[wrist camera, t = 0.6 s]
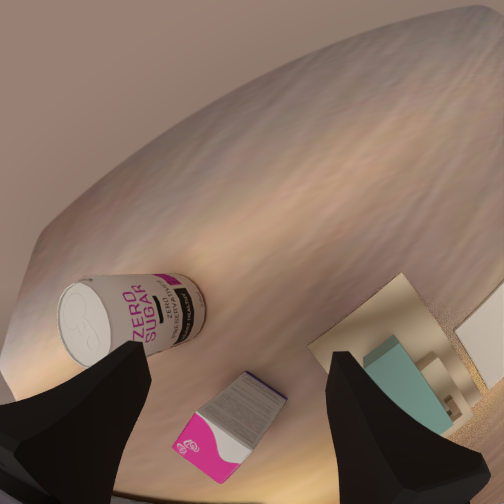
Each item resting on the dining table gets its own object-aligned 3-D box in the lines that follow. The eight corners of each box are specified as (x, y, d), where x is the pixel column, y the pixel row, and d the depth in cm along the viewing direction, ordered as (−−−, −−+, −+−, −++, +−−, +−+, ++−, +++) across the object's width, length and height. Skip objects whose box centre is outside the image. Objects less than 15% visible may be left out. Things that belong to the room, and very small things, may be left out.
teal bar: (445, 409, 23) (453, 424, 20) (415, 430, 24) (421, 447, 21) (393, 334, 26) (399, 343, 22) (362, 357, 26) (363, 369, 23)
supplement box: (244, 368, 33) (196, 409, 22) (289, 398, 31) (257, 452, 20) (220, 403, 33) (169, 448, 23) (261, 432, 32) (223, 488, 21)
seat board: (482, 396, 24) (493, 410, 20) (395, 458, 27) (397, 477, 23) (400, 272, 28) (407, 272, 25) (307, 345, 31) (301, 355, 27)
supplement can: (138, 305, 37) (43, 318, 23) (176, 259, 36) (79, 253, 22) (178, 355, 35) (88, 393, 21) (221, 311, 34) (134, 336, 20)
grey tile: (540, 333, 22) (542, 334, 21) (487, 388, 24) (489, 389, 23) (509, 273, 24) (511, 273, 23) (453, 330, 26) (454, 331, 25)
